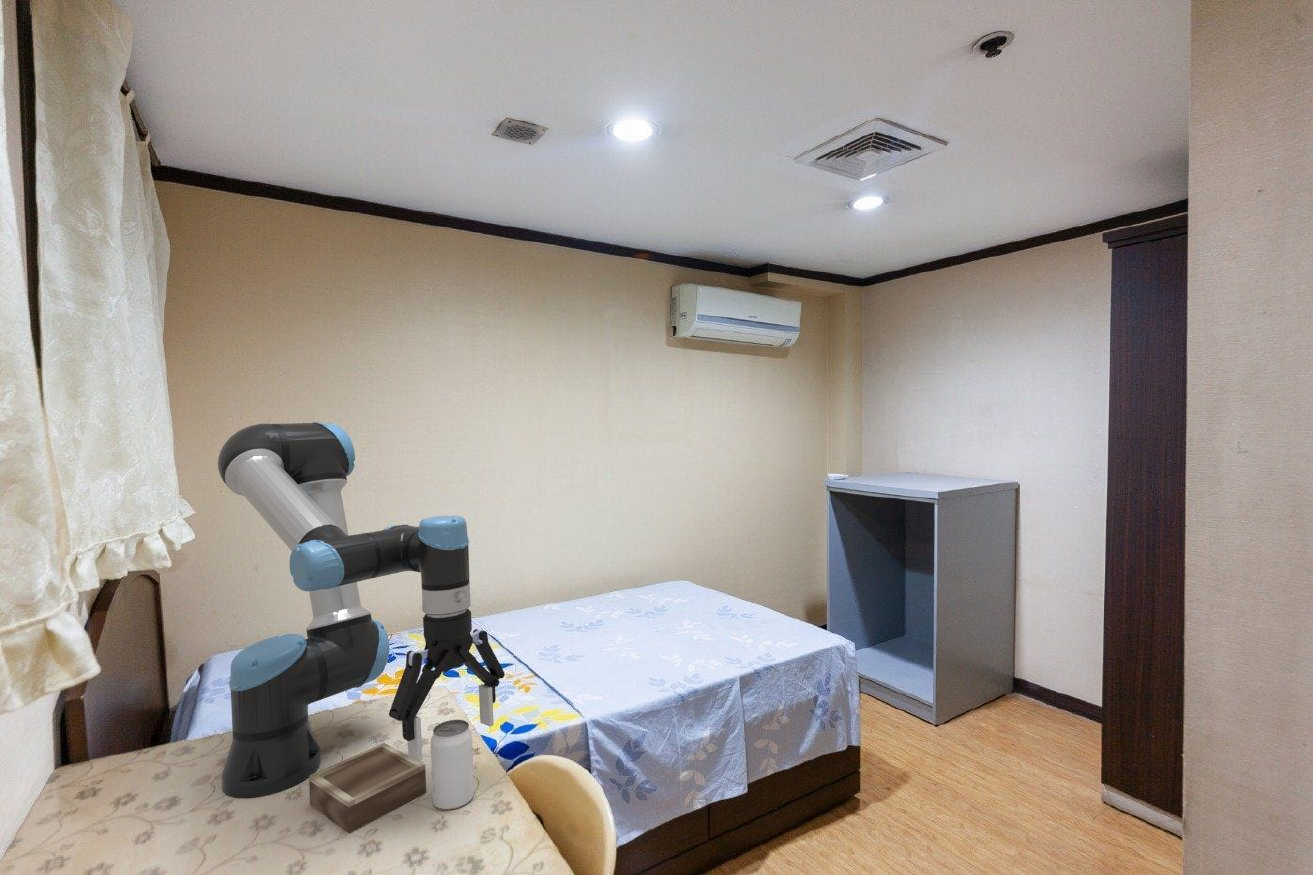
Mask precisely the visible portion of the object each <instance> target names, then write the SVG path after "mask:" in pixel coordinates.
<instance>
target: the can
mask: <svg viewBox="0 0 1313 875" xmlns="http://www.w3.org/2000/svg"><path fill="white" fill-rule="evenodd" d="M469 726H470V723H469V722H468V721H466V720H464V719H449V720H446V721H443V722H441V723H438V724H437V725H435V726H434V727H433V729H432V732H433V733H432V736H431V739H430V760H431V761H430V764H431V766H430V767H431V790H432V792H431V793H432V795H431V796H432V803H433V806H435V807H436V808H438V809H439V810H442V811H452V810H457V809H459V808H462V807H464V806H466V805H467V804H469V803H470V801H471V799H472V798H473V797H474V792H475V791H474V790H475V789H474V788H475V786H474V757H473V753H474V752H473V736H472V735H473V734H472V731H471V729H470V727H469Z"/></svg>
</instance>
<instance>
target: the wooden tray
mask: <svg viewBox="0 0 1313 875" xmlns="http://www.w3.org/2000/svg"><path fill="white" fill-rule="evenodd" d="M426 772H427V771H426V764H425V763H423V762H421V761H419V762H417V761H415V760H413V759H411V758H409V757H408V753H407V754H406V753H405V752H403V751H401V750H399V749H397V748H395V747H393V746H392V745H389V744H387V743H385V742H382V743H379V744H378V745H375V746H373V747H371V748H369V749H366V750H364V751H362V752H360V753H358V754H354V755H352V756H350V757H348V758H346V759H343V760H341V761H339V762H336V763H334V764H332V765H330V766H328V767H325V768H322V769H320V770H318V771H315V772H314V773H313V774H311V775H309V777H308V781H309V782H308V785H309V805H311V806H312V807H313V808H314V809H316V810H317V811H319V812H320V813H321V814H322V815H324V816H325V817H326V818H328V820H331V821H332V822H333V823H335V824H336V825H337V826H339V828H341V829H343V830H344V831H345V832H347V833H348V834H352V833H354V832H355V831H357V830H359V829H361V828H363V827H365V826H366V825H368V824H370V823H372V822H374V821H376V820H379V819H381V817H383V816H385V815H387V814H389V813H391V812H392V811H395V810H396V809H399V808H400V807H402V806H403V805H406V804H408V803H410V802H412V801H413V800H415V799H417V798H419V797H420V796H423V795H425V794H427V778H426V776H427V775H426Z"/></svg>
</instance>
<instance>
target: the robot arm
mask: <svg viewBox="0 0 1313 875" xmlns="http://www.w3.org/2000/svg"><path fill="white" fill-rule="evenodd" d="M217 460H218V461H217V468H218V473H219V476H220V478H221V480H222V481H223V483H224V484H225V485H226V487H227V488H228V489H229V490H230V491H231V492H232V493H234V494H236V495H238V496H242V497H244V498H245V499H246V500H247V501H248V502H249V504H250V505H251V506H252V507H253V508H254V509H255V510H256V512H258V513H259V515H260V516H261V517H262V518H263V520H264V521H265V522H266V523H267V524H268V525H269V527H270V528H271V529H272V530H273V531H274V532H275V534H276V535H277V536H278V537H279V538H280V540H281V541H282V542H283V543H284V544H285V546H286V547H287V548H288V549H289V550H290V551H291V553H290V555H289V572H290V576H292V580H293V583H294V585H295V586H296V588H298V589H299V590H301V591H304V592H308V593H309V599H310V605H311V610H312V611H311V612H312V616H313V618H312V620H311V622H310V623H309V624H308V626H307V627H306V629H305V630H306V636H307V638H305V636H303V634H299V633H297V634H296V633H286V634H282V635H281V636H278V635H276V636H272V637H269V638H266V639H262V640H260V641H258V642H255V643H252V644H251V645H249V646H246V647H245V648H244V649H242V650H241V651H239V652H238V654H236V655H235V656H234V657H233V659H232V661H231V663H230V680H229V682H228V685H229V686H228V687H229V689H230V706H231V727H232V728H231V729H232V741H231V744H230V748H229V751H228V754H227V756H226V757H227V758H226V760H225V763H224V767H223V770H222V774H221V781H222V782H221V783H222V785H221V786H222V787H221V788H222V791H223V792H224V793H225V794H226V795H228V796H231V797H236V798H251V797H259V796H266V795H269V794H273V793H274V794H275V793H277V792H281V791H284V790H285V789H288V788H290V787H294V786H296V785H298V784H299V783H301V782H303V781H305V780H306V779H307V778H308V779H309V775H311V774H314V773H316V772H317V770H318V769H319V768H320V766H321V762H322V758H321V757H322V756H321V748H320V745H319V743H318V741H317V738H316V736H315V734H314V732H313V729H312V727H311V724H310V722H309V705H310V704H314V703H316V702H319V701H321V700H324V699H328V698H330V697H332V696H333V697H334V696H335V695H336V696H337V694H341V693H344V692H346V691H350V690H352V689H356V688H361V687H362V686H364V685H365V684H367V683H368V684H369V683H370V682H372V681H375V680H377V679H379V677H380V676H382V674H383V672H384V671H385V668H386V666H387V664H388V661H389V656H390V638H389V636H388V631H387V629H385V626H384V625H383V623H382V622H381V621H378V620H375V619H373V617H372V613H371V611H370V610H368V609H366V608H364V607H363V606H362V604H361V598H360V592H359V587H358V583H359V582H361V581H366V580H371V579H377V578H380V577H385V576H390V575H393V574H399V573H404V572H415V573H420V577H421V580H420V581H421V582H420V583H421V603H422V604H421V606H422V607H421V609H422V612H423V613H424V616H423V617H422V625H423V638H424V642H425V644H424V645H425V646H424V648H423V650H418V651H414V650H408V651H407V653H406V655H405V656H406V657H405V668H404V671H403V673H402V676H401V678H400V681H399V685H398V687H397V689H396V693H395V695H394V698H393V701H392V704H391V706H390V709H389V713H388V716H389V718H392V719H394V720H396V721H398V722H401V727H402V728H401V731H402V738H403V740H405V741H407V755H408V757H409V758H411V759H413V760H415V761H417V762H419V761H420V762H421V761H423V748H422V747H423V744H422V742H423V741H422V720H421V719H422V718H421V717H420V716H418V713H419V711H420V709H421V707H422V706H423V704H424V702H425V700H426V698H427V696H428V695H429V693H430V691H431V689H432V687H433V685H434V684H435V682H436V680H437V679H439V678H440V677H441V675H442V673H444V672H445V673H446V672H449V671H451V670H452V669H454V668H460V667H462V664H463V665H464V666H465V667H466V668H467V669H468V670H469V671H471V673H473V675H475V676H476V677H477V678H478V679H479V680H480V681H481V682H482V684H478V701H479V722H480V724H483V725H484V726H488V727H489V728H491V727H493V726H494V724H495V723H494V704H495V702H496V701H497V700H496V698H497V697H496V687H499V684H500V679H503V678H504V677H505V675H506V673H505V671H504V669H503V667H502V665H501V664H500V662H499V660H498V658H497V655H496V653H495V652H494V650H493V649H492V647H491V644H490V642H489V636H488V632H487V631H485V630H482V629H478V628H475V629H473V624H472V622H473V621H472V611H471V610H470V609H469V608H470V607H471V603H472V602H471V587H470V586H471V584H470V556H469V555H470V552H469V548H470V547H469V544H470V539H469V536H468V527H467V525H468V524H467V521H466V519H465V518H464V517H462V516H460V515H440V516H439V515H438V516H430V517H425V518H422V519H421V520H420V522H419V523H418V526H414V525H409V524H397V525H395V524H394V525H390V526H387V527H385V528H384V529H381V530H377V531H371V532H363V533H358V534H351V535H349V531H348V525H347V519H346V513H345V508H344V502H343V497H342V496H343V495H342V491H343V488H344V487H345V486H346V485H347V484H348V479H347V478H348V477H347V476H350V475H351V474H352V473H353V471H354V468H355V467H356V466H355V461H356V452H355V448H354V444H353V442H352V439H351V437H350V436H349V434H348V433H347V432H346V430H345V429H343V428H342V427H341V426H339V425H337V424H334V423H326V422H324V423H323V422H315V421H314V422H301V423H295V422H294V423H257V424H252V425H248V426H246V427H244V428H242V429H240V430H237V431H236V432H235V433H234V434H233V435H231V436H230V437H229V438H228V439H227V440H226V442H225V443H224V444H223V445H222V448H221V449H220V451H219V455H218V459H217ZM472 629H473V631H472ZM471 632H472V633H471ZM473 645H474V646H475V648H476V650H477V652H478V653H479V656H480V657H481V659H482V661H483V663H484V665H485V666H486V668H485V667H484V665H482V664H481V663H480V662H479V661H478V660H477V658H476V656H474V655H473V654H472V653H471V652H470V650H471V648H472V646H473ZM425 660H426V662H425ZM422 666H423V667H422ZM420 674H421V675H420Z"/></svg>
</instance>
